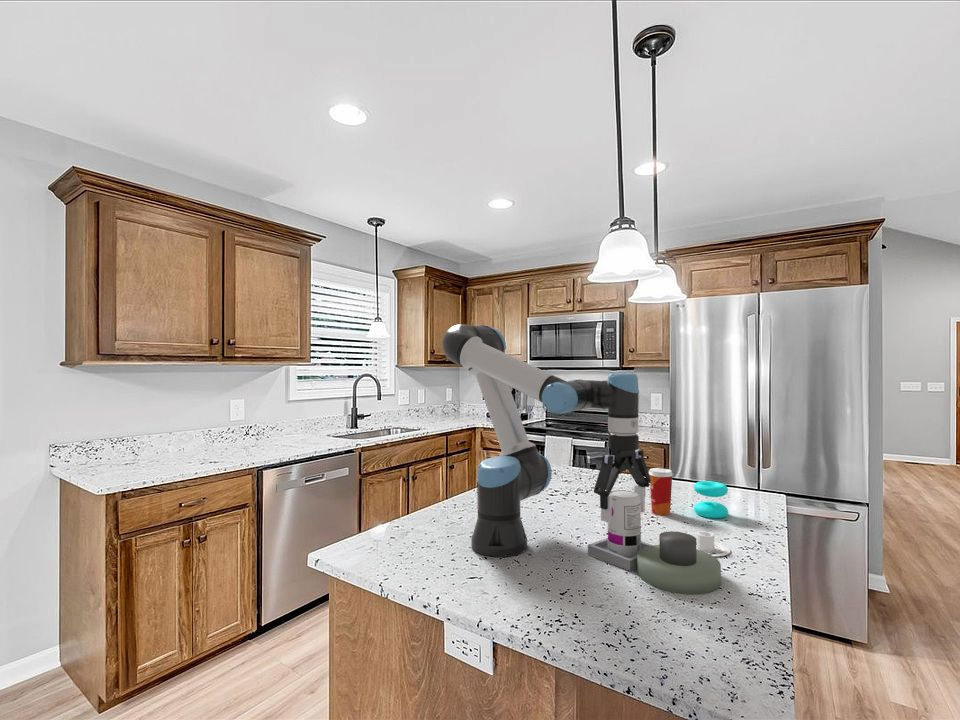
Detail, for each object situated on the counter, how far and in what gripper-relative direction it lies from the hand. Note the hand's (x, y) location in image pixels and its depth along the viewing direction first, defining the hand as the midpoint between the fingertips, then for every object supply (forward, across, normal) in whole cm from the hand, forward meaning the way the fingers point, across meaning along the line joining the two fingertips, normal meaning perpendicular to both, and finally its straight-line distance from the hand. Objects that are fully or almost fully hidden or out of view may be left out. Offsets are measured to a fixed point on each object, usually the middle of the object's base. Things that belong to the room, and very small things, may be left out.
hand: (623, 516), depth 128 cm
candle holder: (+11, +21, -10) cm, 26 cm away
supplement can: (+9, 0, 0) cm, 9 cm away
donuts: (+10, +50, +4) cm, 51 cm away
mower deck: (+10, 0, -9) cm, 14 cm away
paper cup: (+10, +39, +15) cm, 43 cm away
